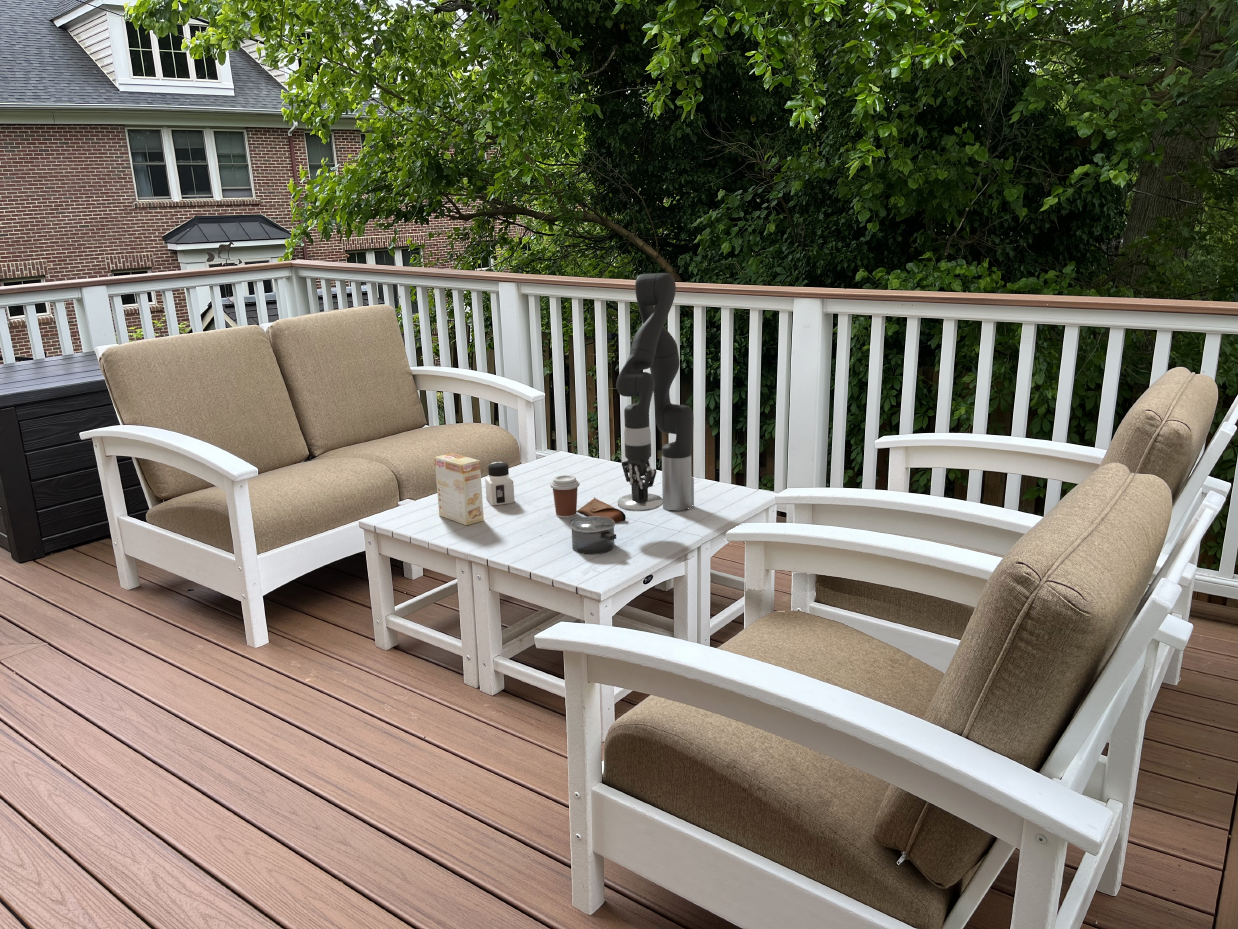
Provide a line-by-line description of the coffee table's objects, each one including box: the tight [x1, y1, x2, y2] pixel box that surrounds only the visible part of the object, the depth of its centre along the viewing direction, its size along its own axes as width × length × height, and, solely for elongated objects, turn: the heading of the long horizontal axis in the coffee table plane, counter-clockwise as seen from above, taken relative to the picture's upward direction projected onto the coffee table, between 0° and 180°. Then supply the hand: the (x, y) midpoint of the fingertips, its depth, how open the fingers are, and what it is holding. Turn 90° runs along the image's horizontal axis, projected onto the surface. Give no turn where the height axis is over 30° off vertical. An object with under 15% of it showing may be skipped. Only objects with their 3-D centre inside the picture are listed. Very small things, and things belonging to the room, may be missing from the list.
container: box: [484, 461, 516, 507], centre depth 311 cm, size 8×8×13 cm
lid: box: [617, 481, 663, 512], centre depth 273 cm, size 13×13×6 cm
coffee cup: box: [549, 474, 581, 519], centre depth 296 cm, size 9×9×12 cm
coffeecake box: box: [434, 452, 485, 526], centre depth 295 cm, size 15×7×20 cm, turn 44°
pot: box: [569, 516, 617, 555], centre depth 269 cm, size 13×19×7 cm, turn 36°
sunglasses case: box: [576, 496, 627, 524], centre depth 296 cm, size 18×7×7 cm
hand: (639, 498), depth 274 cm, fingers closed on lid, 3 cm apart
